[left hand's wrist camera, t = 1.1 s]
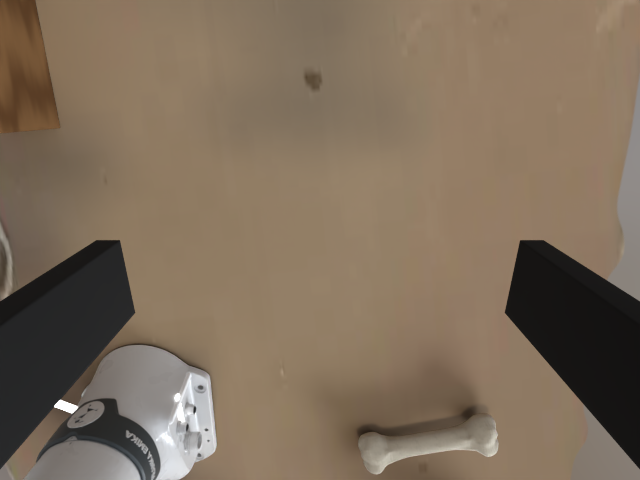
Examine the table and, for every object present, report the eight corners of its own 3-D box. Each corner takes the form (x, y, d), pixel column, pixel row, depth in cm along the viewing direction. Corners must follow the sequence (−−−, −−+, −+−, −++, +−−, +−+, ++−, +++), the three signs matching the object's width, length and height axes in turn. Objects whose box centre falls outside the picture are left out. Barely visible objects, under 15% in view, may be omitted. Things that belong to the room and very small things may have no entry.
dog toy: (362, 454, 58) (366, 485, 54) (355, 426, 56) (358, 455, 51) (490, 432, 57) (506, 462, 52) (487, 403, 55) (503, 431, 50)
